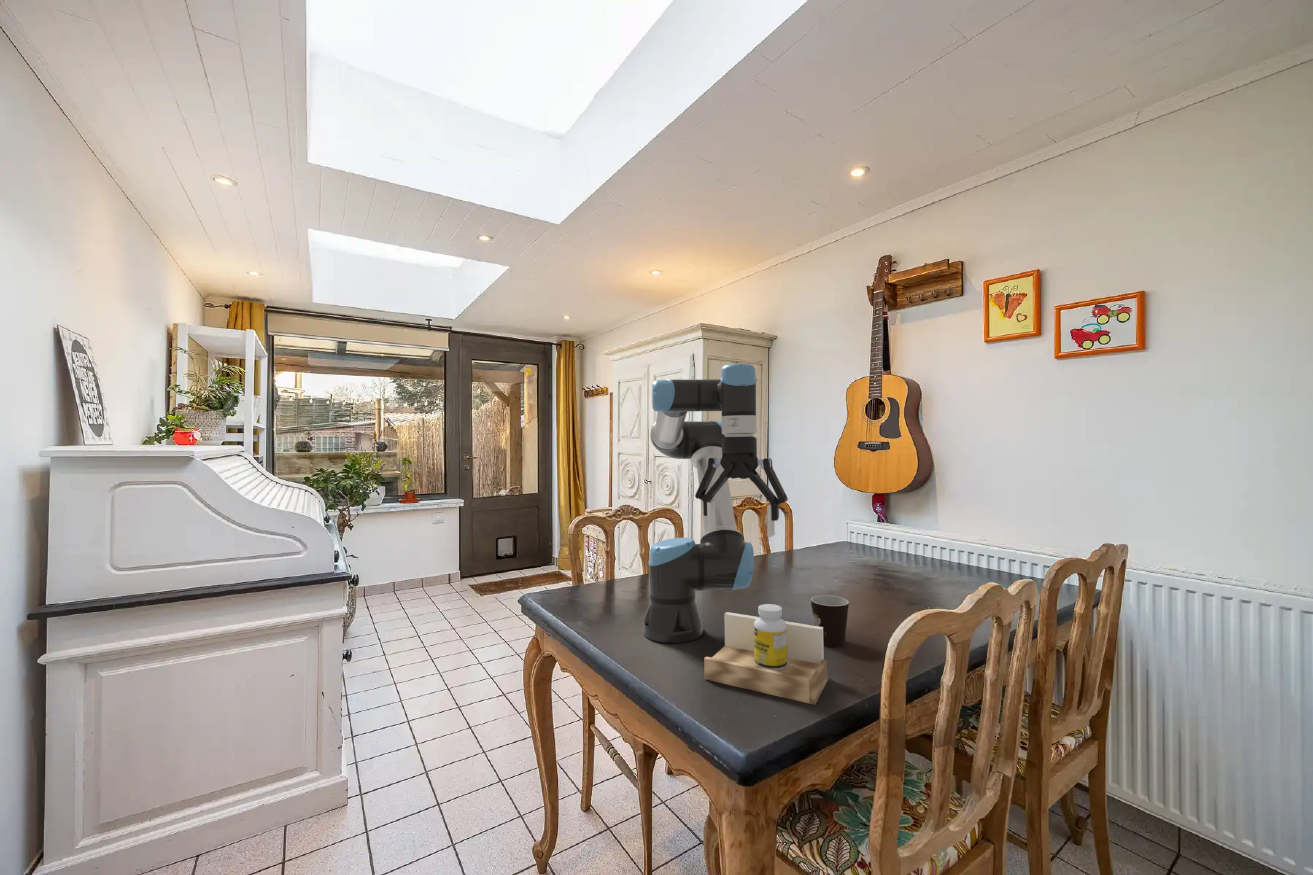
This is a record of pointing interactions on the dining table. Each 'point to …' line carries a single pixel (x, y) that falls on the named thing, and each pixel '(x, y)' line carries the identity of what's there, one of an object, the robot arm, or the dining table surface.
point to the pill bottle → (770, 638)
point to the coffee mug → (831, 618)
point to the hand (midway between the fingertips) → (740, 533)
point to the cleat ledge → (767, 675)
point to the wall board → (800, 637)
